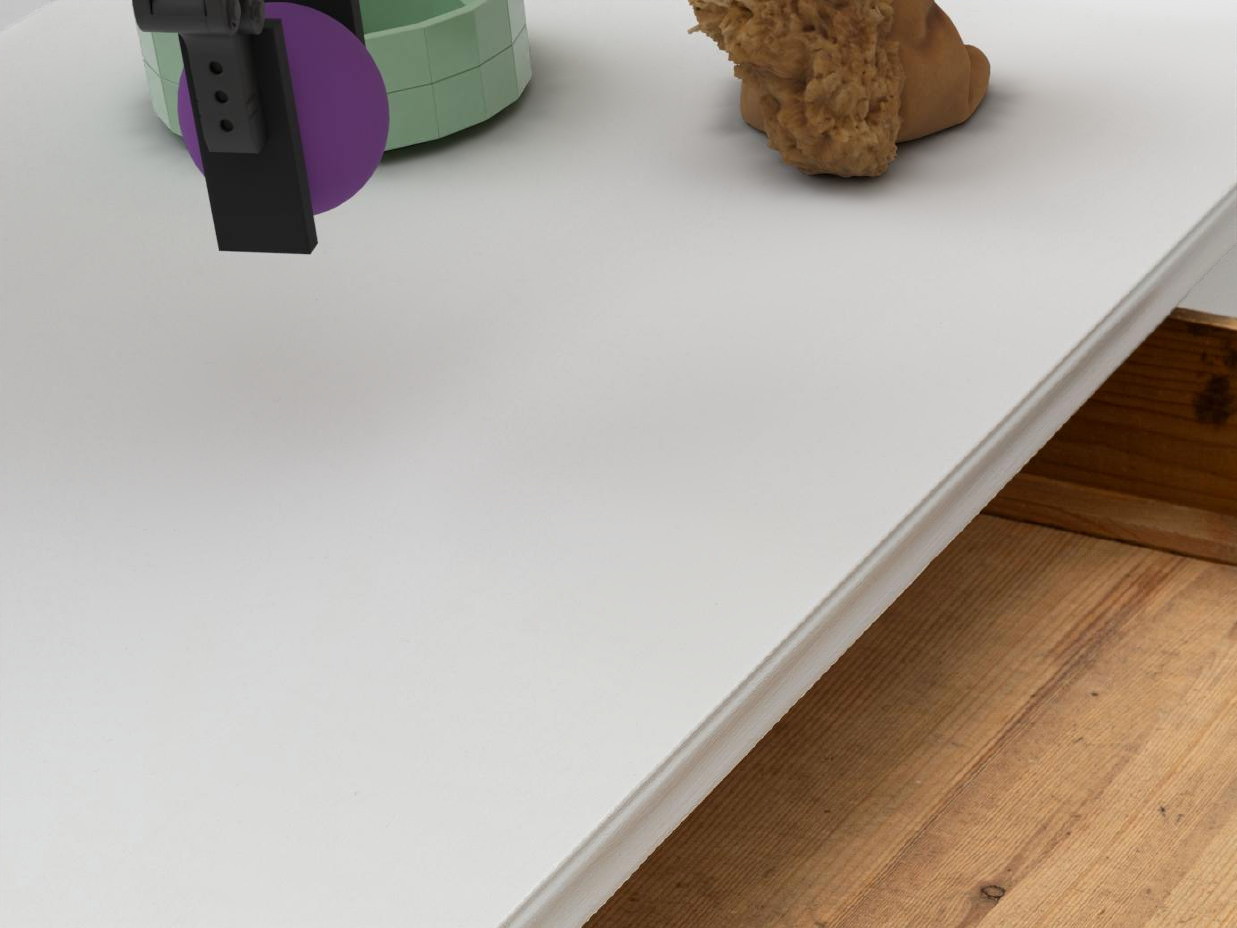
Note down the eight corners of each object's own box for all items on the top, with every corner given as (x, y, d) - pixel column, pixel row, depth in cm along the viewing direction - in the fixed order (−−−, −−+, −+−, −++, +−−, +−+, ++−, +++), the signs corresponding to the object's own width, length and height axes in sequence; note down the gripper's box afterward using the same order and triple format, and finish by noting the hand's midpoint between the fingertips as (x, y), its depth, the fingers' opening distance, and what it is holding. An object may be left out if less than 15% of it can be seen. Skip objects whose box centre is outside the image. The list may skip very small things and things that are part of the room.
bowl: (103, 167, 101) (74, 41, 98) (226, 28, 113) (205, -88, 109) (482, 177, 99) (465, 48, 96) (567, 35, 111) (555, -84, 108)
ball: (169, 248, 75) (128, 43, 71) (234, 164, 79) (199, -32, 75) (370, 256, 74) (340, 50, 70) (425, 171, 79) (398, -26, 75)
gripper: (169, -653, 54) (334, 350, 69) (407, -763, 69) (501, 83, 83) (-170, -653, 55) (64, 339, 69) (137, -762, 70) (277, 76, 84)
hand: (302, 198), depth 76 cm, fingers closed on ball, 6 cm apart
